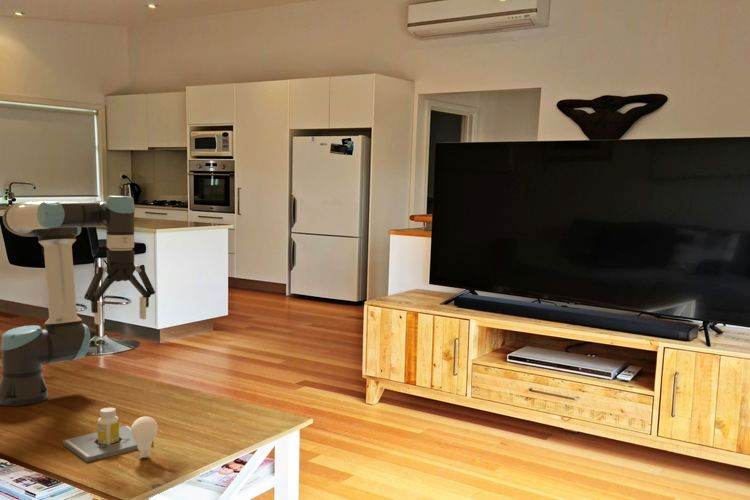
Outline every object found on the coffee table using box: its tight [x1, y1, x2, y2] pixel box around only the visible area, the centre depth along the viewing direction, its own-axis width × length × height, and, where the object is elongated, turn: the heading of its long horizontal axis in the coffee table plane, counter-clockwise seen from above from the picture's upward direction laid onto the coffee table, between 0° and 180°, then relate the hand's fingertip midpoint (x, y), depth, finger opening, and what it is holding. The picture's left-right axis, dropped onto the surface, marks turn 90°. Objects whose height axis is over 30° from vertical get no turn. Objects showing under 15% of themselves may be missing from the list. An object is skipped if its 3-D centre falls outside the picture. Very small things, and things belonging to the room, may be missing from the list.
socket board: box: [62, 425, 154, 463], centre depth 185 cm, size 16×18×1 cm
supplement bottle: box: [97, 407, 120, 445], centre depth 185 cm, size 5×5×10 cm
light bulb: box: [131, 415, 159, 459], centre depth 176 cm, size 7×7×11 cm
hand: (120, 321), depth 200 cm, fingers open, 13 cm apart
